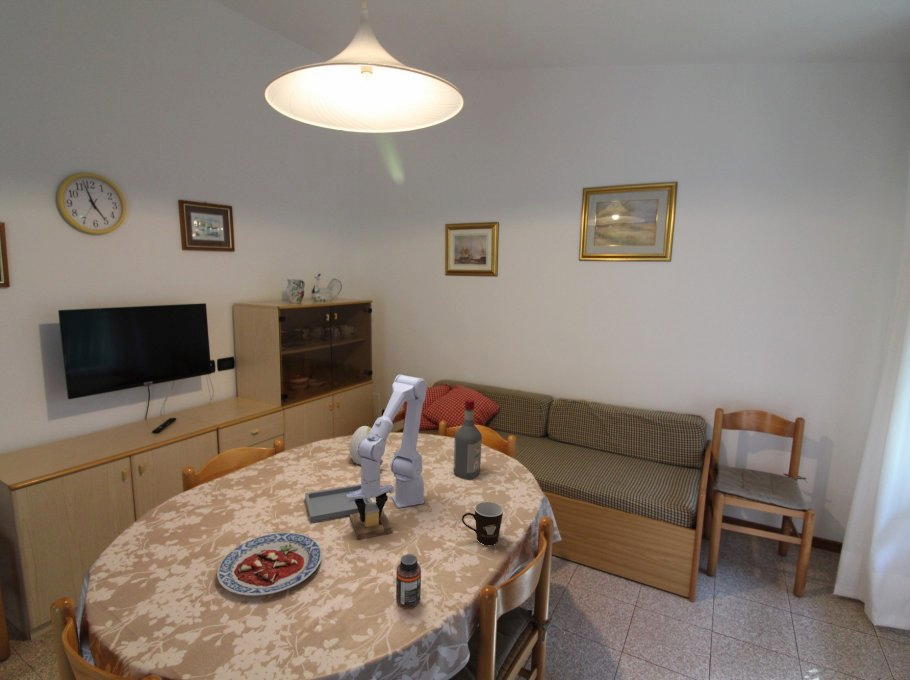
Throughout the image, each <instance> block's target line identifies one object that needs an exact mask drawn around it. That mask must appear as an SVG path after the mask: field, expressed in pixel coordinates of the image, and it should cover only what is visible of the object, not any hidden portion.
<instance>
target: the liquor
mask: <svg viewBox="0 0 910 680" xmlns="http://www.w3.org/2000/svg"><path fill="white" fill-rule="evenodd" d="M474 409H475V400H474V399H468V398H467V399H465V400H464V419H463V420H464V421H463V424H462V425H461V426H460V427H459V428H458V429H457V431H455V432H454V443H453V445H454V448H453V449H454V451H453V473H454V475H455V477H457V476H458V478H461V479H464V480H474V479H475V478H476V477H477V476H478V475H480V473H481V462H482V460H481V459H482V458H481V457H482V433H481V431H480V430H479V429H478V428H477V427H476V425H475V423H474V411H475V410H474Z"/></svg>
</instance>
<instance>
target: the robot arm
mask: <svg viewBox="0 0 910 680" xmlns="http://www.w3.org/2000/svg"><path fill="white" fill-rule="evenodd" d="M391 386H392V387H391V388H392V394H391V396H390V398H389V401H388V403H387V405H386V407H385V409H384V411H383V414H382V416H379V417H377V419H376V420H375V422H374V424H373V425H372V427H371V428H372V429H371V430H370V432H369V434H368V436H367V438H365V439H363V440H362V441H361V442H360V443H359V445H358V449H357V454H358V456H359V457H360V462H361V465H360V473H361V475H360V477H361V479H360V481H361V482H360V484H361V489H360V490H357V491H355V492H353V493H350V494H347V502H348V503H351V502H352V501H355V503H356V505H357V508H358V511H359V514H360V519H361V521H362V522H365V506H366V504H365V502H364V500H363V499H364V498H370V499H373V498H375V502H376V504H377V506H378V508H379V518H380V517H381V513H382V510H383V511H384V506H385V505H386V503H387V502H388V501H389V500H388V497H389V496H388V495H387V494H389V493H390V494H393V493H394V491H395V494H394V495H392V496H391V499H392V500H393V502H394V504H395V506H396V507H397V508H398V509H399V508H404V507H406V508H407V507H411V506H416V505H421V504H425V501H424V500H425V499H424V498H425V497H424V495H425V492H424V491H425V487H424V486H425V484H424V478H423V476H422V473H423V472H422V471H423V462H422V461H423V457H422V455H421V454H420V453H419V451H418V450H417V446H418V438H419V431H420V425H421V419H422V410H423V406H424V405H423V404H424V403H425V402H426V398H427V390H428V384H427V381H426V380H425V378H422V377H416V376H410V375H409V376H408V375H405V374H404V375H403V374H402V373H401V374H400V373H399V374H398V375H396V377H395V378H394V381H393V383H392V385H391ZM405 402H406V403H407V406H406V411H405V418H404V424H403V431H402V437H401V438H402V439H401V445H400V448H399V449H397V450H395V451H394V452H393V456H392V459H391V462H390V465H389V466H390V472H391V473H393V477H395V488H394V486H393V485H392V484H385V485H381V466H380V459H382V458H383V456H384V454H385V451H386V446H387V440H388V438H389V436H390V434H391V432H392V430H393V428H394V424H393V421H394V419H395V417H396V416H397V415H398V413H399V411H400V409H401V408H402V406H403V405H404V404H405ZM394 489H395V490H394ZM362 522H361V523H362Z"/></svg>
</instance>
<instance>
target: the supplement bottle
mask: <svg viewBox="0 0 910 680" xmlns="http://www.w3.org/2000/svg"><path fill="white" fill-rule="evenodd" d="M421 569H422V567H421V565H420V564H419V562H418V557H417V555H415V554H412V553H407V554H404V555H402V556H401V557H400V562H399V564H398V565H397V566H396V570H395V571H396V575H395V577H396V579H395V588H396V589H395V591H396V592H395V600H396V603H397V605H398V606H400V607H402V608H404V609H411V608H412V609H413V608H414V607H416V606H418V604H419V603H420V601H421V591H422V587H421V586H422V570H421Z"/></svg>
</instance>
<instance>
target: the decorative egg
mask: <svg viewBox="0 0 910 680" xmlns="http://www.w3.org/2000/svg"><path fill="white" fill-rule="evenodd" d="M371 429H372V427H370V426H367V425H361V426H359V427H358V428H357V429H356V430H355V431H354V433H353V434H352V436H351V438H350V442H349V446H348V447H349V448H348V449H349V455H350V458H351V460H352V461H353V462H354V463H355V464H357V465H359V466H361V462H360V457H359V456H358V454H357V449H358V445H359V443H360V442H361V441H362V440H363V439H365V438H367V436H368V434H369V432H370V430H371Z"/></svg>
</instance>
